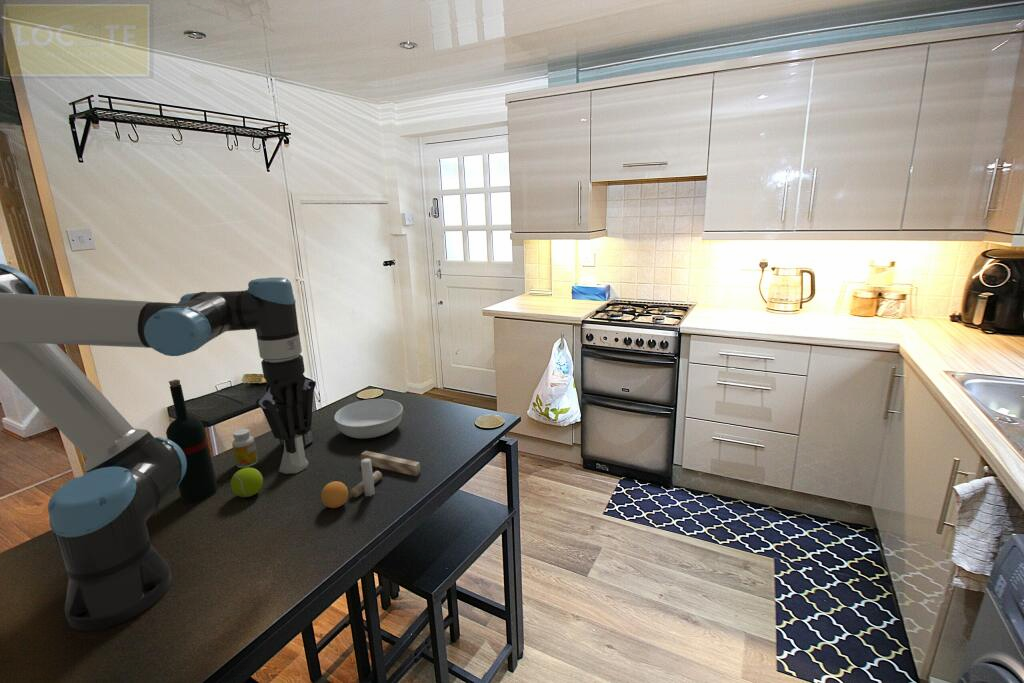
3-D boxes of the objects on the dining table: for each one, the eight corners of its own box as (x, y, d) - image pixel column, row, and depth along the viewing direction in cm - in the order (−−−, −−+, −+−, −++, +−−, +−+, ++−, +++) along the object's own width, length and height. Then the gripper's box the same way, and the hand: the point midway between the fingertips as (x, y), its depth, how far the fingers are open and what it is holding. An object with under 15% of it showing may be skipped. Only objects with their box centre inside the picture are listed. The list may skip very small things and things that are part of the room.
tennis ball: (254, 484, 124) (249, 459, 123) (270, 491, 121) (266, 466, 119) (227, 498, 119) (222, 472, 117) (243, 506, 115) (238, 480, 113)
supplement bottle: (231, 466, 134) (225, 434, 131) (247, 457, 138) (241, 426, 136) (246, 469, 132) (240, 437, 129) (262, 460, 137) (256, 428, 134)
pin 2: (357, 489, 116) (381, 471, 124) (349, 488, 117) (374, 470, 125) (358, 498, 117) (382, 479, 125) (351, 496, 118) (375, 478, 126)
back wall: (420, 472, 128) (419, 462, 127) (416, 476, 126) (415, 466, 125) (366, 460, 135) (365, 450, 134) (362, 463, 133) (360, 453, 132)
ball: (351, 483, 118) (348, 509, 115) (326, 482, 117) (322, 509, 114) (347, 479, 112) (344, 507, 110) (320, 479, 111) (316, 506, 109)
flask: (297, 476, 128) (292, 441, 125) (273, 473, 129) (267, 439, 127) (313, 462, 135) (308, 429, 132) (290, 460, 136) (285, 428, 134)
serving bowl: (322, 442, 146) (319, 421, 145) (362, 415, 166) (359, 396, 164) (382, 450, 140) (380, 428, 139) (416, 420, 160) (414, 401, 158)
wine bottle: (164, 503, 117) (135, 387, 110) (206, 482, 126) (181, 373, 118) (183, 511, 114) (154, 392, 106) (224, 489, 123) (201, 377, 115)
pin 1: (366, 497, 117) (362, 464, 115) (363, 493, 119) (359, 460, 116) (376, 494, 118) (372, 461, 116) (372, 490, 120) (368, 457, 118)
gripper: (267, 368, 88) (286, 483, 94) (321, 349, 99) (335, 453, 106) (239, 364, 91) (259, 475, 97) (294, 346, 103) (309, 447, 109)
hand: (298, 463), depth 101 cm, fingers closed
